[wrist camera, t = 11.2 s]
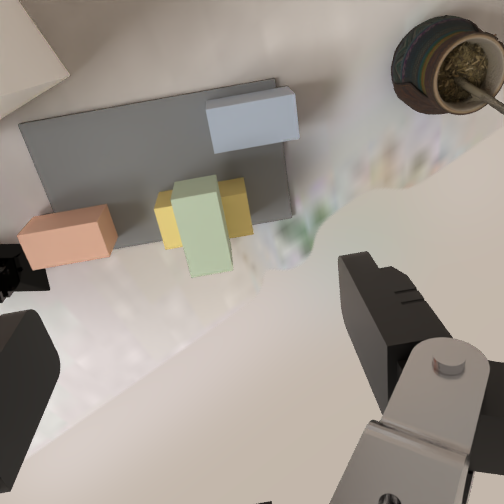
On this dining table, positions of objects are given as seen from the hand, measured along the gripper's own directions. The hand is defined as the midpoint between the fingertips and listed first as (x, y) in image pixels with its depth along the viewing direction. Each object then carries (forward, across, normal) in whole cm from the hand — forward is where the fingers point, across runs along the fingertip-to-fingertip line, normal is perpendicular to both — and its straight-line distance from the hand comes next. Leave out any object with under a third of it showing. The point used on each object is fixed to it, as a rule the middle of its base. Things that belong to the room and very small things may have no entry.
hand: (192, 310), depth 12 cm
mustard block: (+30, +2, +9) cm, 31 cm away
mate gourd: (+30, -19, 0) cm, 36 cm away
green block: (+26, +2, +8) cm, 27 cm away
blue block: (+30, -4, +2) cm, 30 cm away
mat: (+30, +5, +6) cm, 31 cm away
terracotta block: (+30, +14, +9) cm, 34 cm away
